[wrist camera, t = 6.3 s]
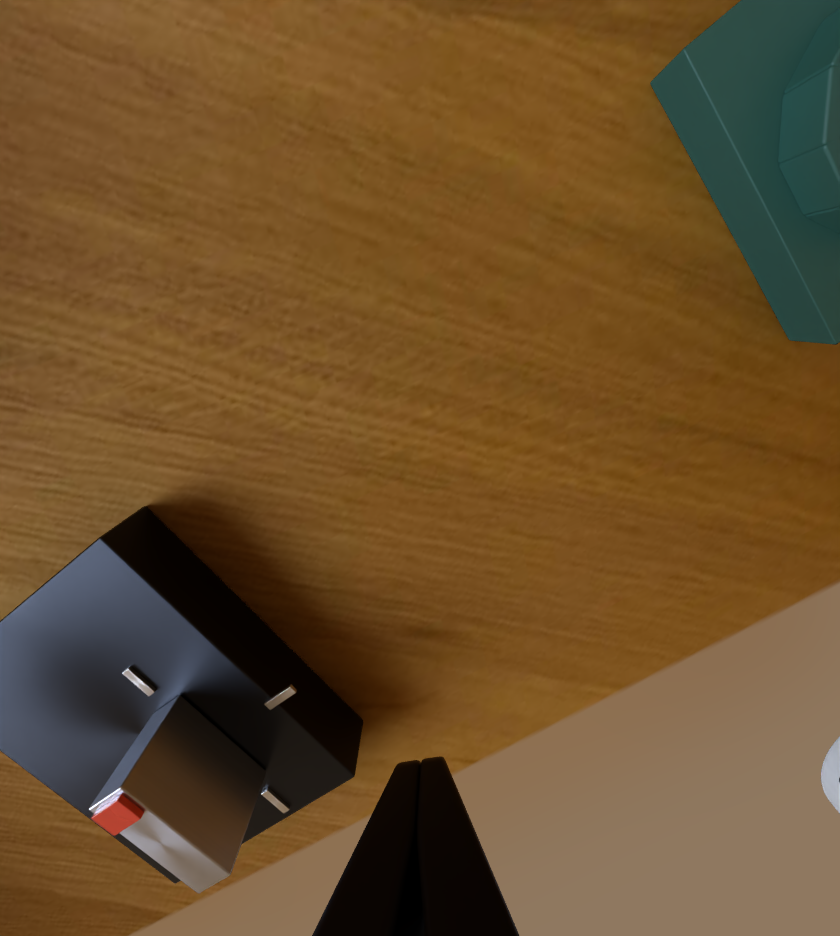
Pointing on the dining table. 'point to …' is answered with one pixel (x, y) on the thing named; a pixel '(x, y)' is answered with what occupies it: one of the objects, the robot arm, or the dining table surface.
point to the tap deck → (161, 676)
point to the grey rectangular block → (182, 795)
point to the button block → (770, 147)
